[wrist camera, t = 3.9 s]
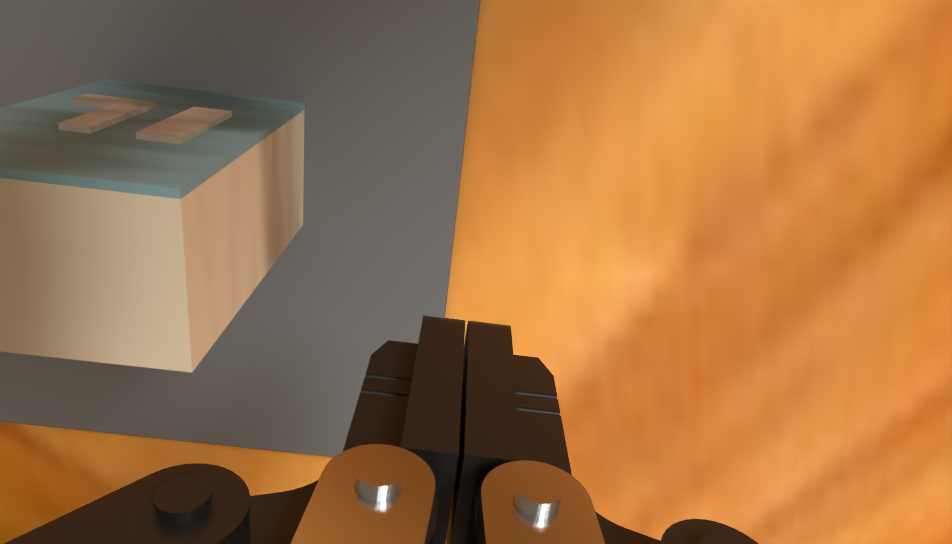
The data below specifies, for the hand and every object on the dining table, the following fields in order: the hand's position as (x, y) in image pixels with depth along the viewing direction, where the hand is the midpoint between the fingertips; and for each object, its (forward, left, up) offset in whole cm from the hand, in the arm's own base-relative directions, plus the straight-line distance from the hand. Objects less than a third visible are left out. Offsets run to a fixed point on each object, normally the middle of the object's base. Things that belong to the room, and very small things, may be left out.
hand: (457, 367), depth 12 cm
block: (+8, 0, -11) cm, 14 cm away
